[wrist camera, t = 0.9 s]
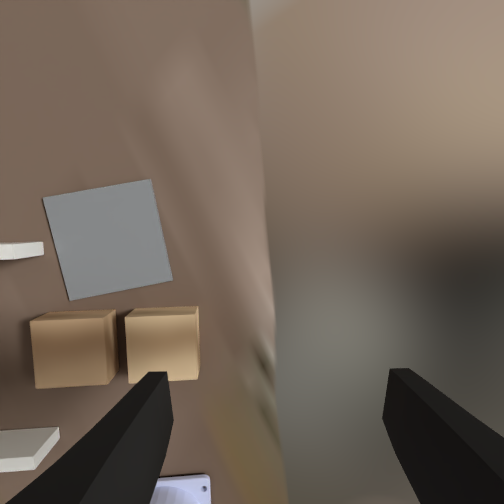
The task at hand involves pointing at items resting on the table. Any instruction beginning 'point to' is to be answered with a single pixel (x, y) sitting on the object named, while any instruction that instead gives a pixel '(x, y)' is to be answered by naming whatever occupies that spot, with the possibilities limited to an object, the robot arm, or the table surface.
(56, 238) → the slate coaster
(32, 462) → the frame
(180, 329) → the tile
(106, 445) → the robot arm
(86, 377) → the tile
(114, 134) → the table surface
